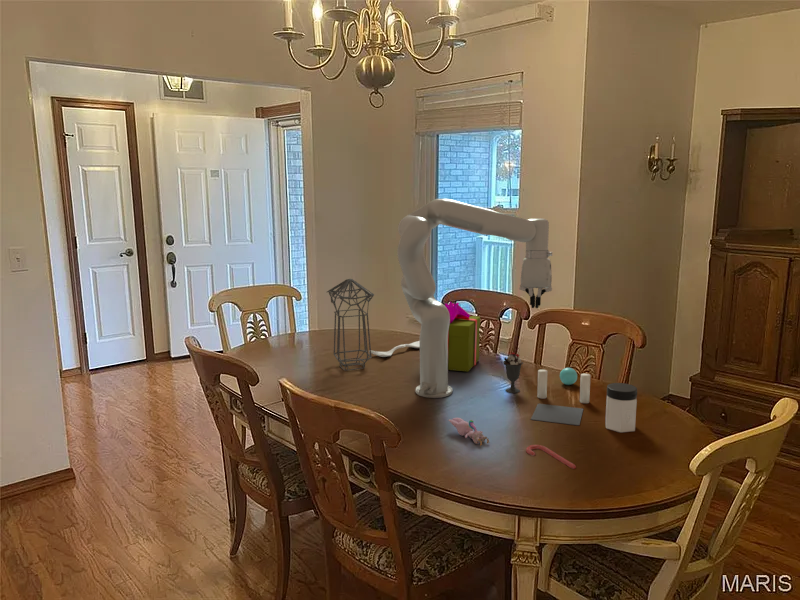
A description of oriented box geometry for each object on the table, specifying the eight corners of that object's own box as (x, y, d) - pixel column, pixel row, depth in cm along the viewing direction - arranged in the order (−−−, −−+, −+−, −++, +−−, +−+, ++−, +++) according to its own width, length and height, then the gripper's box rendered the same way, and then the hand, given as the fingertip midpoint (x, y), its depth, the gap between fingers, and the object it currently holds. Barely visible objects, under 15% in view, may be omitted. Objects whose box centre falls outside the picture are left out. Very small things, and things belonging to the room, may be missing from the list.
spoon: (367, 357, 250) (367, 349, 249) (422, 343, 271) (422, 336, 271) (382, 362, 243) (382, 353, 243) (437, 347, 265) (437, 339, 264)
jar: (613, 434, 170) (616, 393, 167) (598, 423, 177) (600, 384, 175) (642, 430, 171) (644, 390, 169) (625, 420, 179) (627, 381, 177)
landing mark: (579, 425, 176) (579, 425, 176) (530, 419, 181) (530, 419, 181) (583, 409, 188) (583, 408, 188) (537, 404, 193) (537, 403, 193)
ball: (576, 387, 208) (576, 371, 207) (558, 386, 210) (558, 369, 209) (577, 382, 214) (578, 366, 213) (560, 380, 216) (560, 364, 215)
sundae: (524, 389, 208) (525, 346, 205) (519, 395, 202) (520, 351, 199) (505, 386, 211) (506, 345, 208) (500, 392, 205) (501, 349, 202)
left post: (545, 399, 198) (546, 372, 196) (536, 398, 199) (537, 371, 197) (547, 396, 201) (547, 370, 199) (538, 395, 202) (538, 369, 200)
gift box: (480, 358, 246) (480, 298, 241) (477, 374, 225) (478, 308, 221) (430, 356, 249) (429, 297, 245) (423, 371, 229) (422, 307, 224)
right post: (588, 403, 193) (590, 376, 191) (579, 402, 194) (580, 375, 192) (589, 400, 196) (590, 374, 194) (579, 399, 197) (581, 373, 195)
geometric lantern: (366, 360, 245) (364, 274, 239) (377, 371, 231) (375, 280, 224) (328, 364, 240) (324, 277, 234) (336, 375, 226) (333, 283, 219)
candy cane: (557, 475, 147) (558, 470, 147) (521, 451, 161) (521, 446, 160) (577, 470, 150) (577, 464, 150) (539, 447, 163) (539, 441, 163)
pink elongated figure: (492, 447, 166) (458, 422, 177) (495, 428, 164) (460, 403, 175) (475, 453, 162) (441, 426, 174) (478, 433, 160) (443, 408, 172)
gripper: (560, 254, 208) (558, 306, 211) (516, 253, 213) (515, 304, 217) (558, 256, 201) (556, 310, 204) (512, 255, 206) (511, 308, 210)
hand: (535, 307), depth 210 cm, fingers closed
